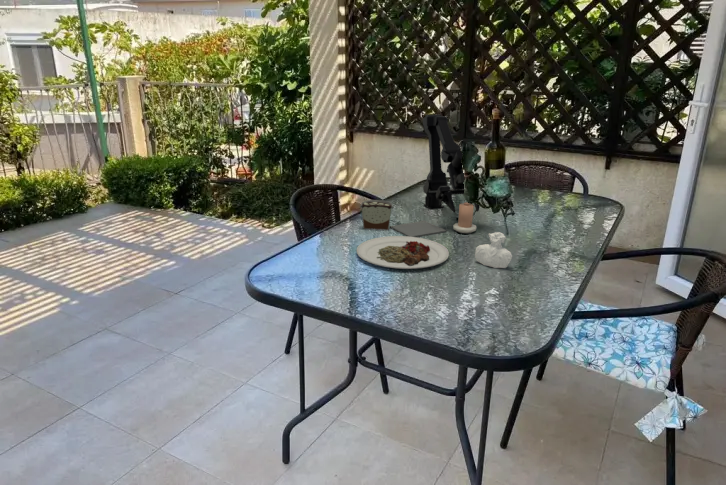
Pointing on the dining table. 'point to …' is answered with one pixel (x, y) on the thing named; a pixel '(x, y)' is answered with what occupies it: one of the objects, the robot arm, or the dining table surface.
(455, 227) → the cream ceramic bowl
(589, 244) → the dining table surface
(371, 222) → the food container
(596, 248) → the dining table surface
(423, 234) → the rubber mat
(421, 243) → the plated food
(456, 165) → the robot arm
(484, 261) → the white tied sack
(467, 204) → the peach pillar candle
